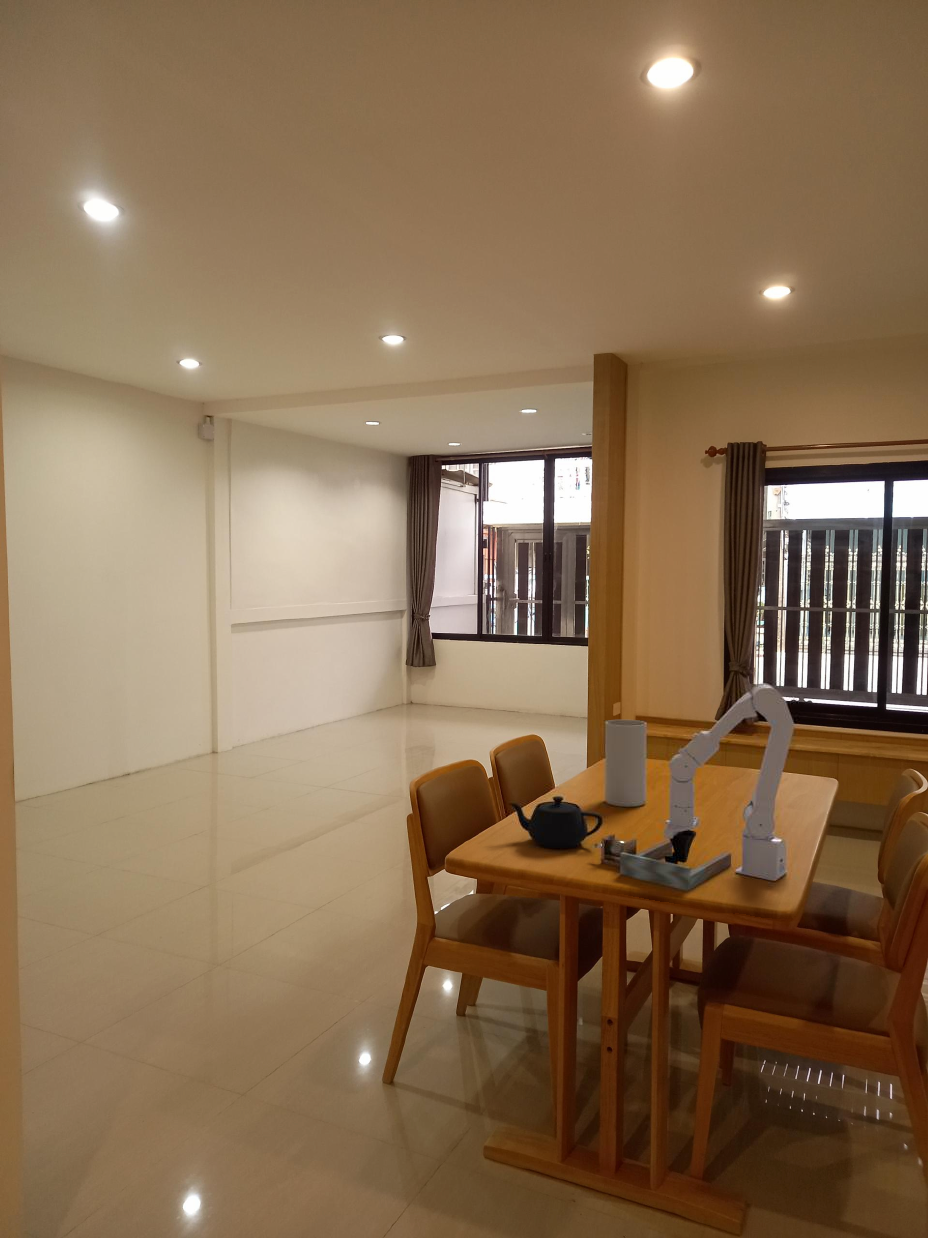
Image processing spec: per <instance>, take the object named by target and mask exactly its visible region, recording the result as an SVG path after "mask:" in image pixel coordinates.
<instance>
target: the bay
mask: <svg viewBox="0 0 928 1238" xmlns="http://www.w3.org/2000/svg"><path fill="white" fill-rule="evenodd" d="M665 851H666V852H673V846H672V843H671V841H670V839H665V840H663V841H661V842H659V843H657V844H655V845H653V846H650V847H649V848H646V849H645V850H642V851H640V852H637V853H636V855H632V854H628V853H623V852H622V853H621V858H620V867H619V868H620V869H619V870H620V871H619V874H620V875H621V876H625V877H629V878H634V879H637V880H642V881H645V882H646V881H647V882H650V883H653V884H657V885H662V886H665V887H671V888H675V889H679V890H682V891H685V892H686V891H687V892H690V891H691V890H692V889H693V888H696V887H697V886H699V885H700V884H702V883H704V882H706V881H707V880H709V879H710V878H712V877H714V876H715V875H717V874H719V873H721V872H723V871H724V870H726V869H727V868H729V867H730V866H732V852H728V851H724V852H722V853H721V854H719V855H717V856H715V857H713V858H711V859H710V860H708V861H706V862H705V863H703V864H701V865H699V866H698V867H696V868H694V869H692V870H691V867H689V866H686V865H681V864H678V865H677V864H673V863H668V862H665V860H660V859H663V858H665Z"/></svg>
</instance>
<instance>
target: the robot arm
mask: <svg viewBox="0 0 928 1238" xmlns="http://www.w3.org/2000/svg"><path fill="white" fill-rule="evenodd" d="M756 712H758V713H759V714H760V715H761V716H763V717H764V718H765V720H766V722H767V723H768V724H769V726H770V731H769V735H768V738H767V742H766V743H767V744H766V746H765V750H764V753H763V757H762V762H761V767H760V769H759V773H758V777H757V781H756V785H755V789H754V791H753V792H752V795H751V798H750V800H749V803H747V805H746V806H745V807H744V809H743V811H742V818H743V821H744V822H745V828H744V829H743V830H742V833H741V866H740V867H738V868H737V869H735V871H734V872H735V873H737V874H741V875H745V876H750V877H753V878H759V879H763V880H768V881H773V882H775V881H777V880H779V879H780V878H781V877H784V875H786V874H787V873H788V870H787V844H786V840H783V839H782V838H780V837H776V836H775V835H776V834H775V832H774V831H775V828H776V824H775V819H774V815H775V810H776V809H775V808H776V797H777V794H778V790H779V786H780V783H781V779H782V776H783V771H784V768H785V764H786V761H787V756H788V754H789V749H790V745H791V741H792V737H793V734H794V729H795V723H794V720H793V717H792V715H791V712H790V709H789V707H788V703H787V701H786V699H785V698H784V697H783V695H781V694H780V692H779V691H777V689H775V687H773V686H772V685H770V684H769V683H759V684H756V685H754V686H753V687H752V688H751V690H750V691H747V692H745V694H743V695H742V696H741V697H740V698H739V699H738V700H737V701H736V702H735V703H734V704H733V705H732V706H731V707H730V708H729V709H728V711H727V712H726V713H724V715H723V716H722V717H721V718H720V719H719V720H717V722H716V723H715V724H714V725H713V726H712V727H711V728H710V729H709V730H701V731H700V732H699V733H697V732H695V733H694V734H693V735H692V739H691V740H690V741H689V743H687V744H686V745H685V746H684V747H683V748H679V749H678V750H677V751H678V753H679V754H675V755H674V756H673V757H672V758H671V759H670V760H669V761H670V762H669V765H668V767H669V772H670V774H671V775H670V778H669V782H670V784H669V819H667V820H664V824H665V825H666V827H665V828H663V838H666V839H668V840H670V841H671V843H672V850H673V852H677V855H678V863H682V864H685V863H687V861H688V857H689V854H690V850H691V846H692V844H693V842H694V840H695V838H696V836H697V831H695V830H694V829H695V828H696V827H698V826H699V825H700V818H699V817H697V816H696V817H695V785H694V777H695V775H696V772H697V768H701V767H702V766H703V765H704V764H705V763H706V762H707V761H708V760H709V759H711V757H712V756H714V755H715V753H716V752H717V751H718V750H719V749H720V741H721V740H723V738H724V737H725V736H726V735H728V733H729V732H730V731H732V730H733V729H734V728H735V727H737V725H738V724H739V723H741V722H742V721H743V720H744V719H748V718H755V717H757V716H758V715H757V713H756Z"/></svg>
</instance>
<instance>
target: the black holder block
mask: <svg viewBox="0 0 928 1238" xmlns="http://www.w3.org/2000/svg"><path fill="white" fill-rule="evenodd" d="M664 862H668V863H673V864H677V865H679V862H678V855H677V852H674V851H672V852H666V851H665V856H664Z"/></svg>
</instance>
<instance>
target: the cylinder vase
mask: <svg viewBox="0 0 928 1238" xmlns="http://www.w3.org/2000/svg"><path fill="white" fill-rule="evenodd" d="M604 725H605V726H604V727H605V731H604V733H605V735H604V737H605V738H604V739H605V743H604V745H605V746H604V748H605V751H604V752H605V753H604V757H605V758H604V760H605V761H604V762H605V763H604V765H605V766H604V773H605V774H604V796H605V797H604V800H605V802H606V804H608V805H611V806H614V807H619V808H620V807H622V808H635V807H641V806H644V805H645V804H647V803H646V802H647V722H645V721H643V720H636V719H611V720H606V721H605V724H604Z"/></svg>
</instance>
